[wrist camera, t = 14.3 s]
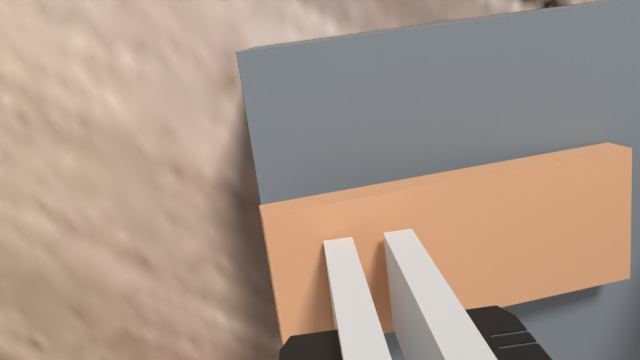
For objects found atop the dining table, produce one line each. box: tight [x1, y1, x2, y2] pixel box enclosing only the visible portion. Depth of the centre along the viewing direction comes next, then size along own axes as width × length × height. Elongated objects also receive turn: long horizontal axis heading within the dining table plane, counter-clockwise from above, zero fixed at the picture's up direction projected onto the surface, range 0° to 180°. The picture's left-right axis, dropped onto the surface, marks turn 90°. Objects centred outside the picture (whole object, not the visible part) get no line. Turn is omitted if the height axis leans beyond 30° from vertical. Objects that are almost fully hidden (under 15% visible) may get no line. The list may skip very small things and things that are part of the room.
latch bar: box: [259, 142, 632, 345], centre depth 16 cm, size 10×4×1 cm, turn 97°
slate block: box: [236, 0, 640, 360], centre depth 20 cm, size 20×12×6 cm, turn 97°
